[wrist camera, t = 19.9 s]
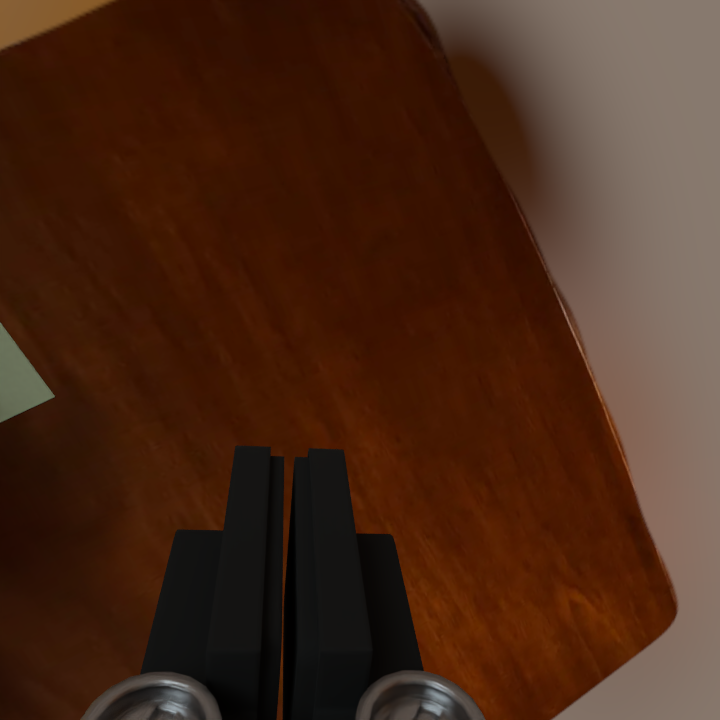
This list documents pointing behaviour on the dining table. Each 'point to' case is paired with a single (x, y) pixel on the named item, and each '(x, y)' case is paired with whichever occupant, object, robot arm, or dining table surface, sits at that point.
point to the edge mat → (18, 380)
